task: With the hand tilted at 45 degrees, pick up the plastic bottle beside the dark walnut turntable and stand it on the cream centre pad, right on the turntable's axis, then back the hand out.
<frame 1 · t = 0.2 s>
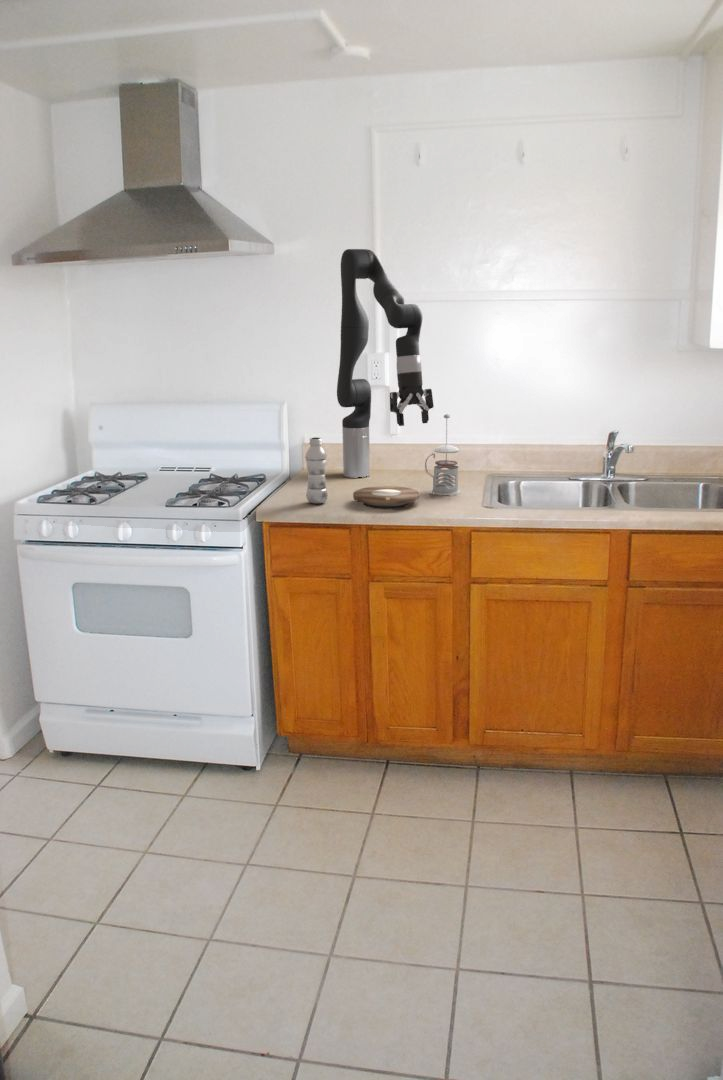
hand: (413, 424, 274), 22 cm above the table, tool pointing down, fingers open, 8 cm apart
turntable base: (386, 503, 270), on the table
plastic bottle: (317, 503, 271), on the table
turntable platter: (386, 494, 269), point 3 cm above the table, hinge at 0.0°
french press: (443, 492, 284), on the table
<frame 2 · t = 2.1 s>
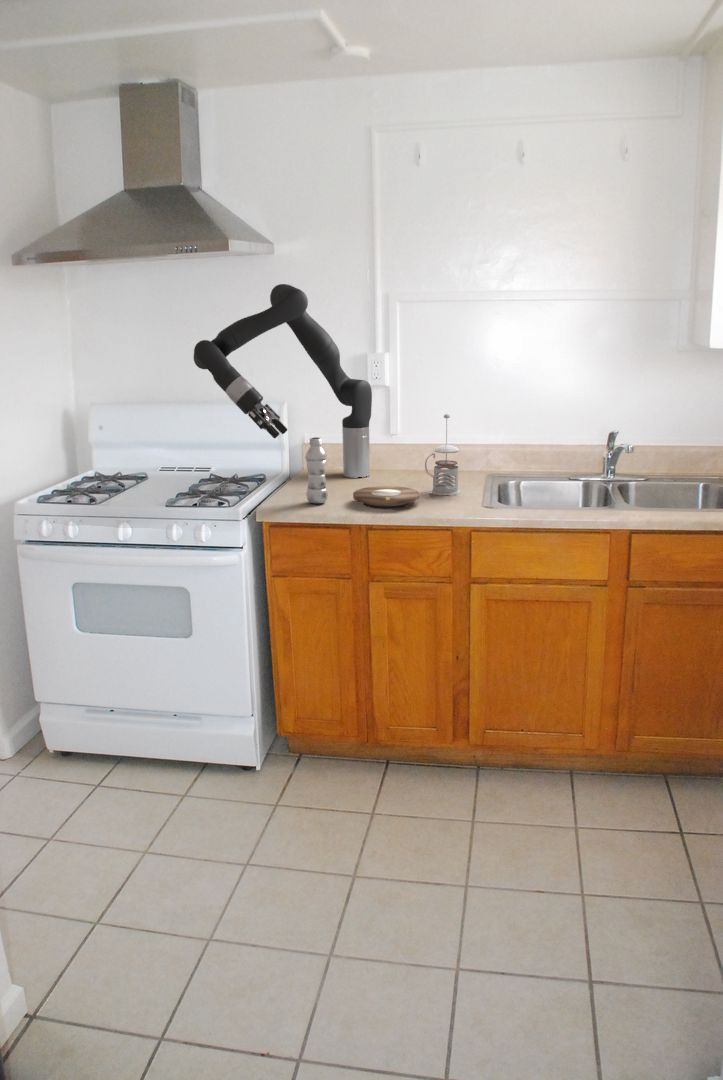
hand: (281, 434, 267), 21 cm above the table, tool tilted 45°, fingers open, 8 cm apart
nothing on the table moved.
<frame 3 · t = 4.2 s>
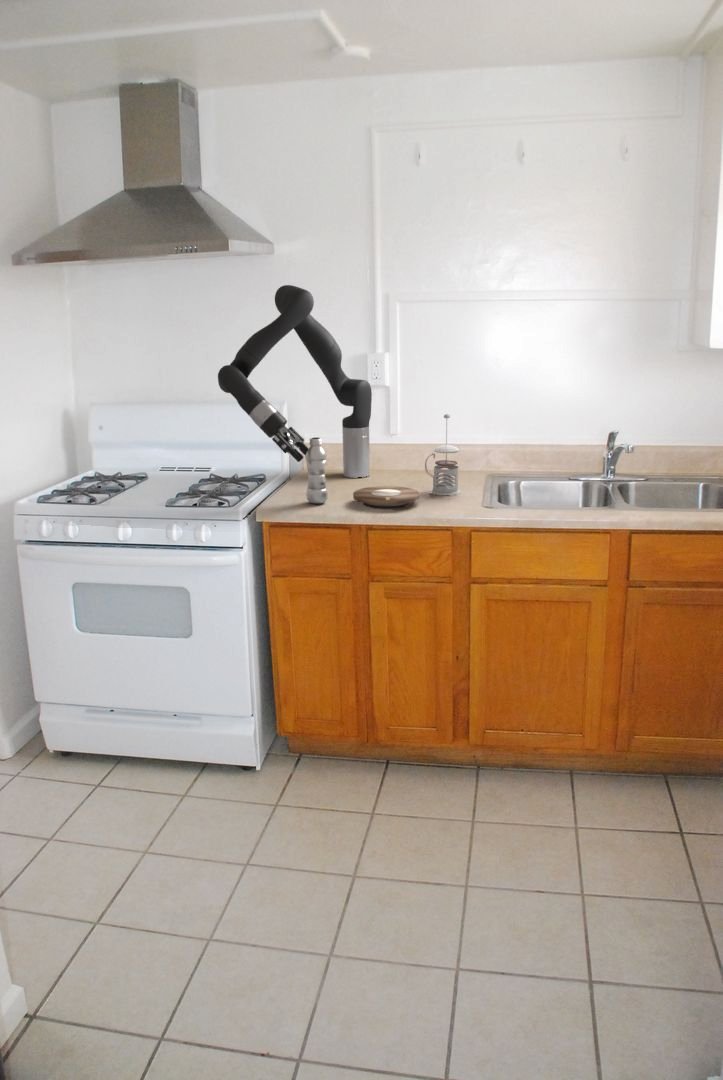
hand: (305, 457, 268), 14 cm above the table, tool tilted 45°, fingers open, 8 cm apart
nothing on the table moved.
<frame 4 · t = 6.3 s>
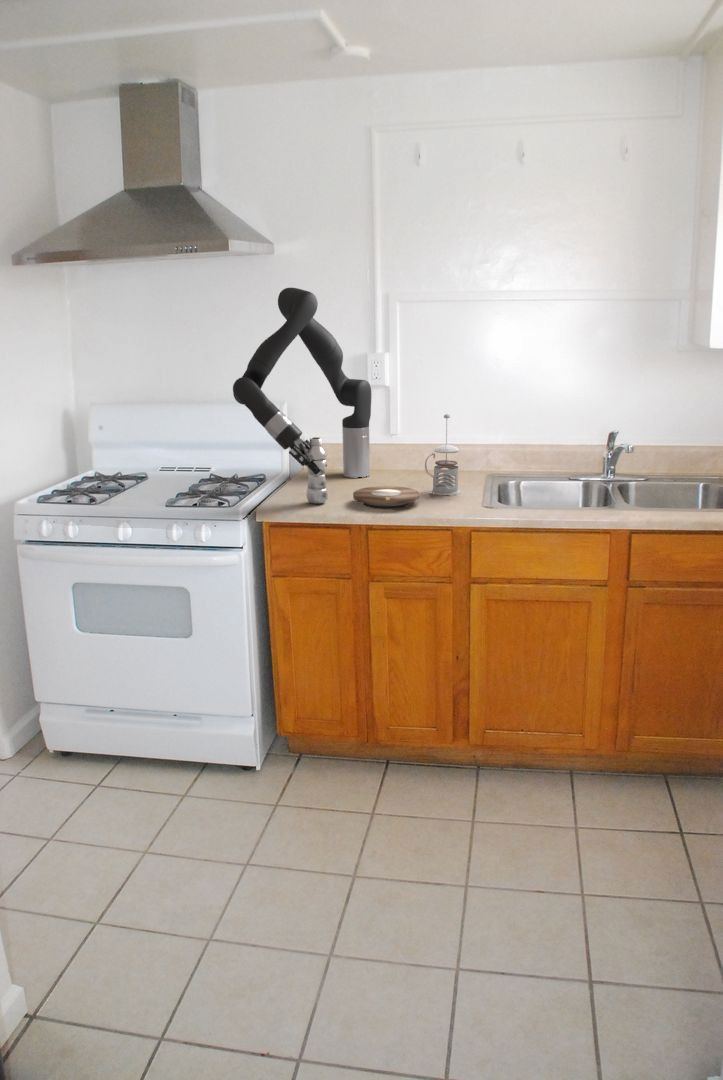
hand: (321, 470, 268), 10 cm above the table, tool tilted 45°, fingers closed on plastic bottle, 6 cm apart
plastic bottle: (317, 503, 271), on the table, touching gripper
everything else where it was.
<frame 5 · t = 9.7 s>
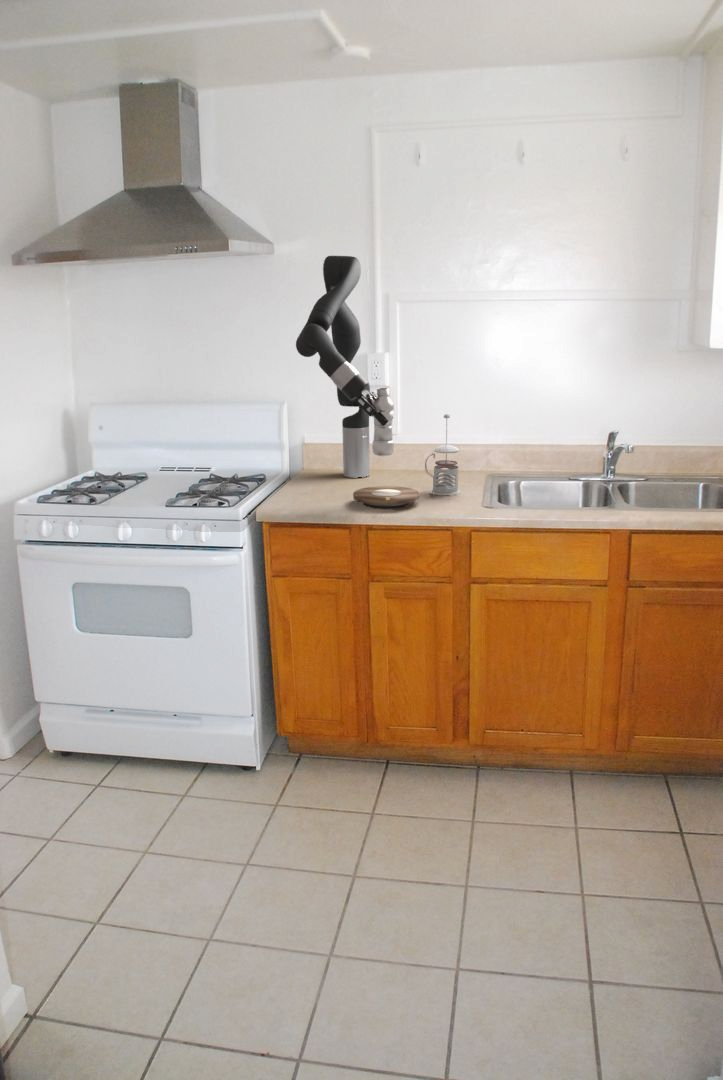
hand: (388, 421, 262), 25 cm above the table, tool tilted 45°, fingers closed on plastic bottle, 6 cm apart
plastic bottle: (383, 456, 266), point 14 cm above the table, touching gripper
everything else where it was.
when the fingers open (15 cm above the table, at t = 13.1 s): plastic bottle drops 1 cm, resting on turntable platter.
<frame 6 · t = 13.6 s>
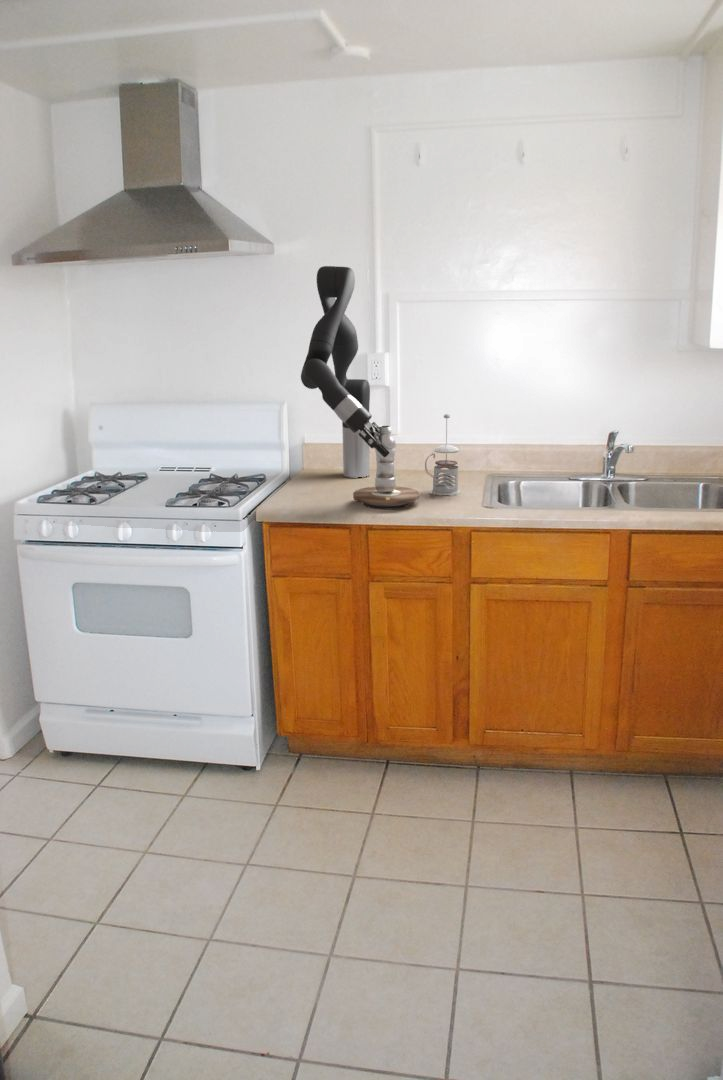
hand: (390, 452, 265), 16 cm above the table, tool tilted 45°, fingers open, 8 cm apart
plastic bottle: (385, 492, 269), point 3 cm above the table, touching turntable platter
turntable platter: (386, 494, 269), point 3 cm above the table, hinge at 0.0°, touching plastic bottle
everything else where it was.
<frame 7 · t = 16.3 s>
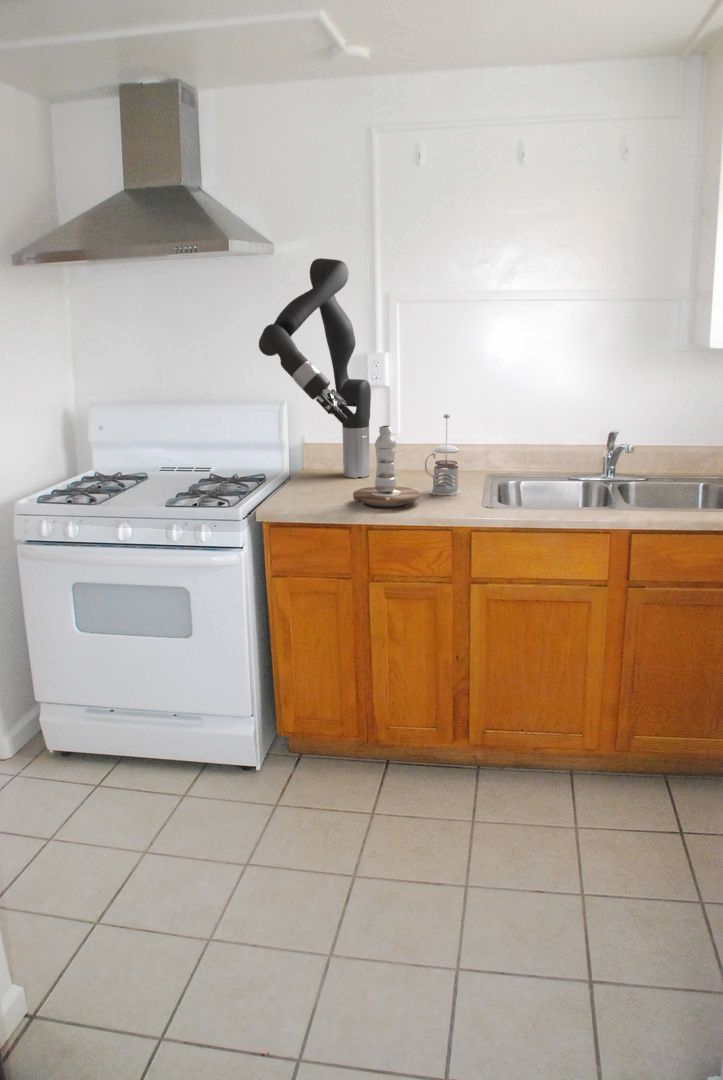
hand: (348, 419, 265), 25 cm above the table, tool tilted 45°, fingers open, 8 cm apart
nothing on the table moved.
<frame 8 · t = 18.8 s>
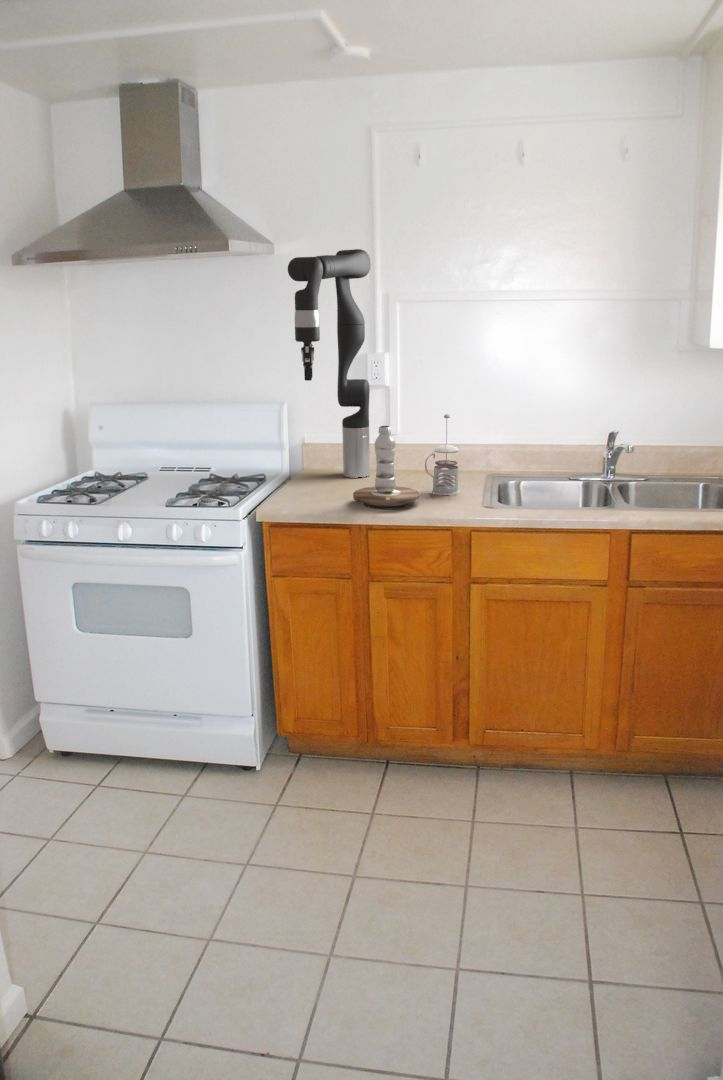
hand: (308, 379, 275), 36 cm above the table, tool pointing down, fingers open, 8 cm apart
nothing on the table moved.
at the end: plastic bottle 0.5 cm from the turntable platter (horizontally); plastic bottle tilted 1°; plastic bottle touching turntable platter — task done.
